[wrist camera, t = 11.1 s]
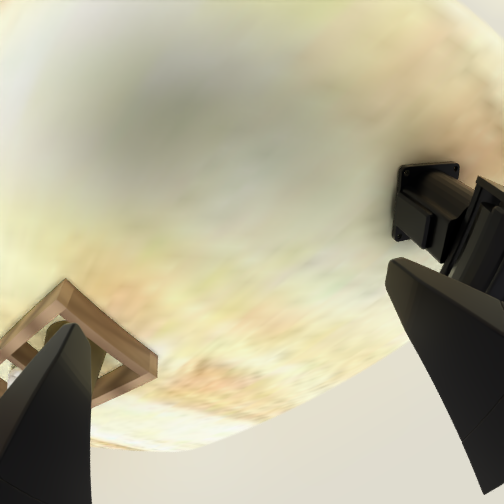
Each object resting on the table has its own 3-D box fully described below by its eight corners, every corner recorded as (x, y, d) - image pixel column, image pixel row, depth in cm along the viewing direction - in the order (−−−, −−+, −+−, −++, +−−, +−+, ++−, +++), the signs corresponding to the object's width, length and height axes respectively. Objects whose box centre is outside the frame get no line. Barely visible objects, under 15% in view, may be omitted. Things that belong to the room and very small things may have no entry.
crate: (65, 278, 21) (56, 299, 19) (157, 356, 27) (157, 377, 25) (-23, 364, 24) (-30, 380, 22) (45, 412, 30) (42, 428, 28)
